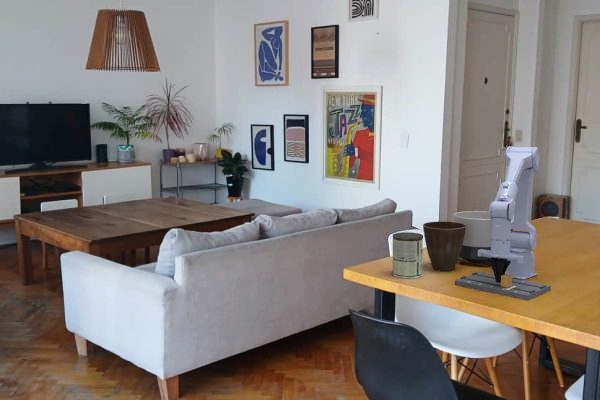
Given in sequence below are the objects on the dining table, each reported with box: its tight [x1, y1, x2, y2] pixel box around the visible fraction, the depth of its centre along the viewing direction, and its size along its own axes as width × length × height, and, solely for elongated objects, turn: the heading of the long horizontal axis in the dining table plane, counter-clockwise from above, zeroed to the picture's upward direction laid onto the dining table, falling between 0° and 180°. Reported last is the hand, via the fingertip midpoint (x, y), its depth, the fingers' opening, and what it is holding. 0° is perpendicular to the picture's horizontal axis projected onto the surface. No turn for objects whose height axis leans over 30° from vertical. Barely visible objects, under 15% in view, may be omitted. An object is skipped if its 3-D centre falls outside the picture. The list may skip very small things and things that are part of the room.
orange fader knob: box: [501, 274, 512, 288], centre depth 196 cm, size 3×2×4 cm, turn 134°
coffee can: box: [392, 231, 424, 280], centre depth 217 cm, size 10×10×14 cm
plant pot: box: [422, 221, 466, 272], centre depth 225 cm, size 15×15×16 cm
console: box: [454, 271, 552, 301], centre depth 201 cm, size 15×25×2 cm, turn 44°
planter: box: [452, 210, 492, 265], centre depth 236 cm, size 19×19×18 cm
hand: (499, 281), depth 198 cm, fingers closed
